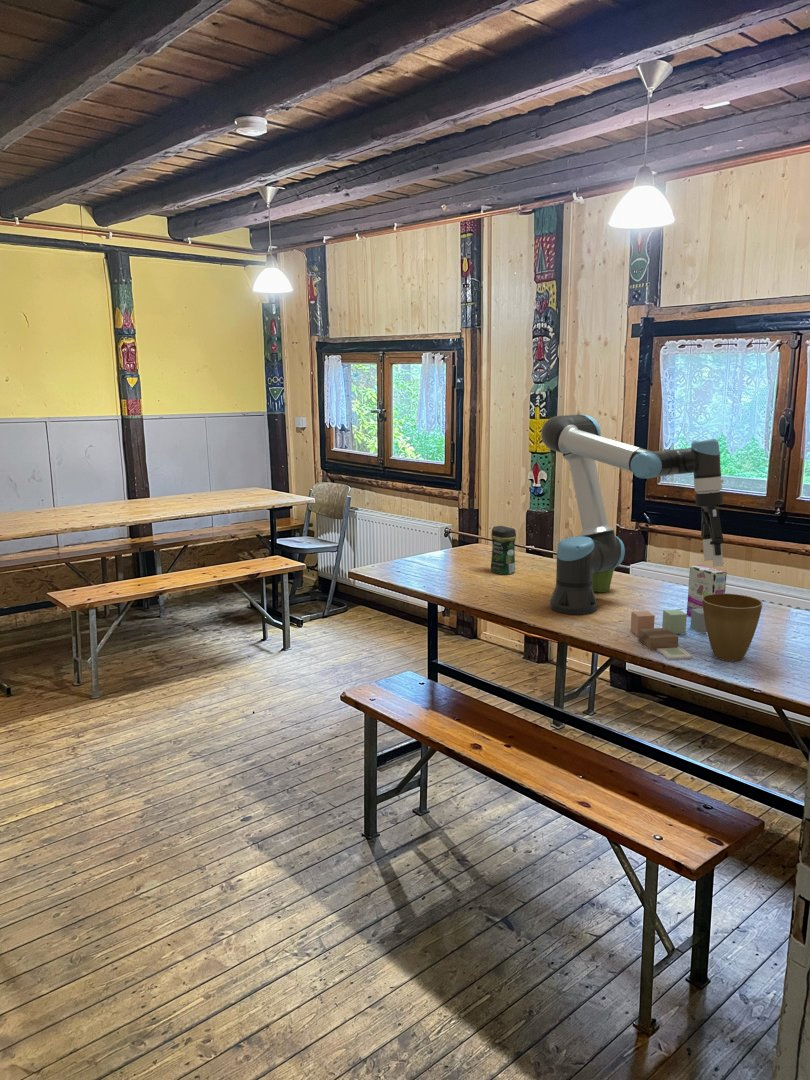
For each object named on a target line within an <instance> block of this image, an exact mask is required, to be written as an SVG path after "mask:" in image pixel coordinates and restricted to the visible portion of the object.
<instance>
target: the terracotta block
mask: <svg viewBox="0 0 810 1080" xmlns="http://www.w3.org/2000/svg"><path fill="white" fill-rule="evenodd" d="M655 618H656V617H655V615H654V614H653V613H651V612H650V611H648V610H639V611H637V610H635V611H631V614H630V630H631V632H632V633H633V634H634V633H635V634H634V635H636V636H637V637H639V636H638V635H639V629H651V628H655Z"/></svg>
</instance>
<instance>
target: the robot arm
mask: <svg viewBox="0 0 810 1080" xmlns="http://www.w3.org/2000/svg"><path fill="white" fill-rule="evenodd" d="M601 435H602V433H601V427H600V425H599V422H598V421H597V420H596V419H595V418H593V417H592V416H590V415H587V414H580V413H578V414H567V415H555V416H552V417H550V418H549V419H548V420H546V421H545V422H544V423H543V425H542V428H541V434H540V437H541V442H543V444H544V446H545V447H546V448H547V449H549V450H551V451H554V452H558V453H560V454H562V458H563V459H564V460H565V461H567V462H568V464H569V465H568V466H569V470H570V474H571V479H572V483H573V489H574V494H575V498H576V503H577V508H578V513H579V518H580V523H581V524H580V525H581V532H580V534H579V536H578V535H577V536H576V535H575V536H570V537H569V536H568V537H566V538H563V539H561V540H560V541H559V542H558V544H557V550H556V574H555V575H556V577H555V579H556V580H555V587H554V588H553V592H552V596H551V597H550V600H549V608H550V609H551V611H554V612H557V613H560V614H566V615H574V616H575V615H577V616H578V615H579V616H581V615H588V614H593V613H595V612H596V611H597V607H598V605H597V604H598V603H597V600H596V596H595V593H594V592H595V591H593V589H592V575H593V574H595V573H599V572H603V571H609V570H611V569H614V568H615V569H616V568H617V567H619V566H621V564H622V562H623V561H624V559H625V558H624V557H625V554H626V551H625V549H626V548H625V545H624V542H623V541H622V539H620V537H619V536H616V533H615V530H614V528H613V527H611V526H610V525H609V523H608V519H607V513H606V508H605V505H604V504H605V503H604V499H603V498H604V497H603V494H602V489H601V488H602V487H601V484H600V479H599V474H598V468H597V464H596V461H597V462H600V463H603V464H606V465H609V466H612V467H616V468H619V469H622V470H624V471H628V472H630V473H632V474H633V475H634V476H635V477H636V478H639V479H648V480H649V479H653V478H659V477H666V476H674V475H675V476H676V475H683V474H685V475H686V474H693V487H694V492H695V493H696V494H695V495H694V496H695V506H697V507H700V510H701V526H700V527H701V528H700V529H701V531H700V536H701V537H702V544H703V546H702V547H703V560H704V562H706V561H707V562H708V561H712V568H717V567H724V555H723V543H724V536H723V535H724V534H723V531H722V523H721V518H720V509H717V508H716V506H720V505H723V504H724V497H723V496H724V495H723V494H724V493H723V492H722V491H721V490H723V484H722V483H724V482H725V481H724V479H722V472H721V471H722V470H721V452H720V444H719V441H718V439H716V438H708V439H701V440H700V439H699V440H693V441H692V442H691V446H690V447H689V448H677V449H664V450H657V451H653V450H650V449H645V448H642V447H639V446H635V445H632V444H629V443H625V442H621V441H618V440H614V439H611V438H609V437H604V436H601ZM615 569H614V570H615Z"/></svg>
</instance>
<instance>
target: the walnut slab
mask: <svg viewBox="0 0 810 1080" xmlns="http://www.w3.org/2000/svg"><path fill="white" fill-rule="evenodd" d="M640 642H641V643H642V644H641V643H640ZM638 643H640V644H641V645H643V646H644V645H645V646H646V647H647V648H646V647H645V646H644V647H645V648H646V649H648V650H649V649H650V650H654V651H657V648H678V647H679V635H678V634H674V633H672V632H671V631H669V630H668V629H667V628H662V627H654V628H651V629H639V636H638ZM650 650H649V651H650Z"/></svg>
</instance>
